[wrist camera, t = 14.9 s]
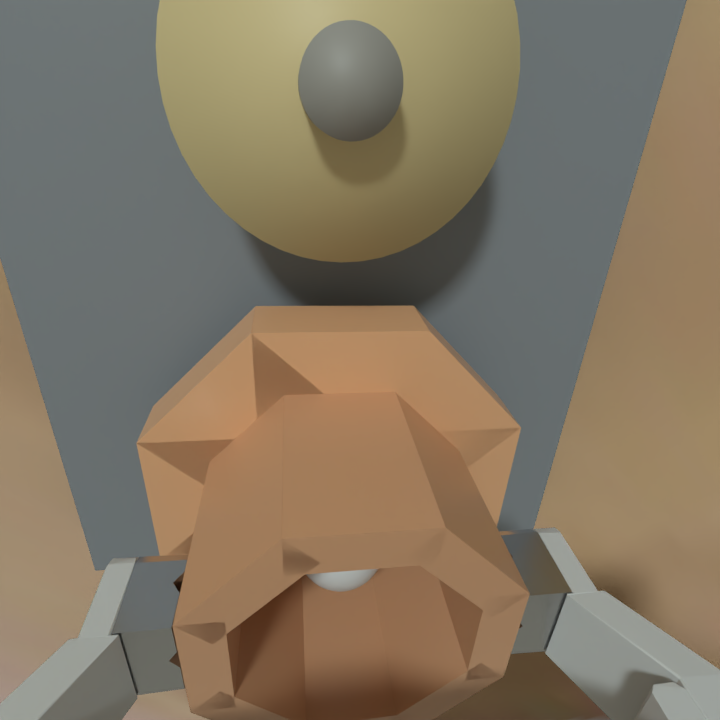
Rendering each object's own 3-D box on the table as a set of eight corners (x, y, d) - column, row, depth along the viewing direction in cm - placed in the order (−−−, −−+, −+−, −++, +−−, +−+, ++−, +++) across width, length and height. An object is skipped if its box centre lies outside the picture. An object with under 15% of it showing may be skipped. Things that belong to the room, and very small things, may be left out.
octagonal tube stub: (516, 304, 12) (670, 439, 7) (464, 557, 16) (539, 750, 11) (135, 306, 11) (9, 470, 6) (184, 579, 15) (134, 806, 10)
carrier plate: (669, -96, 11) (1103, -327, 5) (513, 508, 19) (610, 681, 13) (-84, -185, 9) (-800, -741, 3) (110, 534, 17) (19, 751, 11)
